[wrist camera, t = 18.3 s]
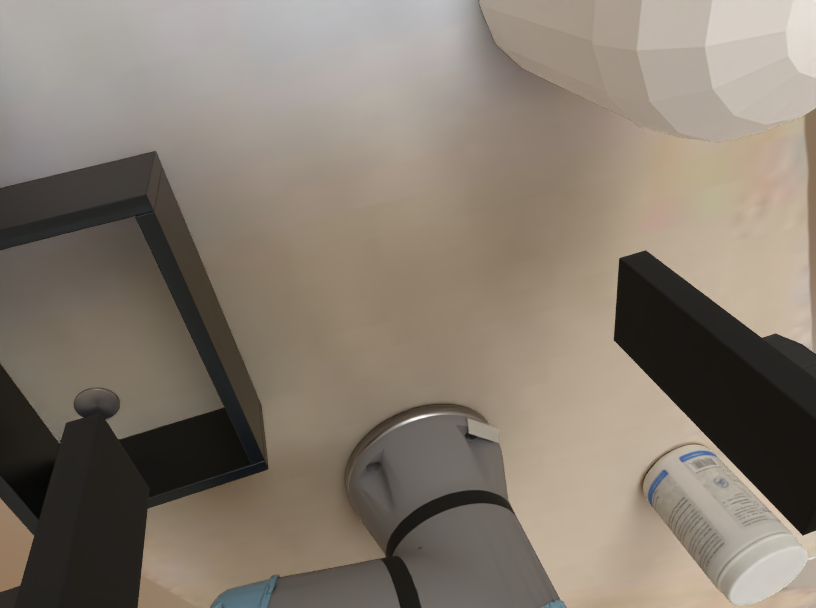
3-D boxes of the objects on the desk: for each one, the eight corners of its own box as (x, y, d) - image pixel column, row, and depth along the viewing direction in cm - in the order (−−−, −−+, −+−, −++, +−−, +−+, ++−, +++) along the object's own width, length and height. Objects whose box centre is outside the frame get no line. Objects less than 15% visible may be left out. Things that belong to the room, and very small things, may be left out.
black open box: (261, 405, 48) (269, 469, 43) (60, 467, 46) (40, 543, 41) (155, 150, 36) (146, 194, 30) (-129, 218, 34) (-197, 279, 28)
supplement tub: (658, 506, 75) (743, 617, 63) (626, 480, 69) (712, 595, 58) (721, 459, 73) (821, 564, 61) (692, 428, 68) (796, 536, 56)
